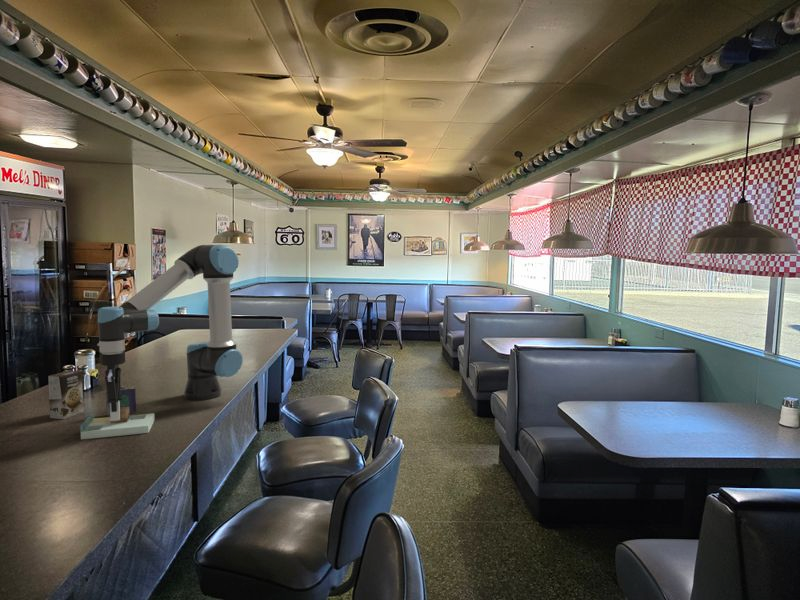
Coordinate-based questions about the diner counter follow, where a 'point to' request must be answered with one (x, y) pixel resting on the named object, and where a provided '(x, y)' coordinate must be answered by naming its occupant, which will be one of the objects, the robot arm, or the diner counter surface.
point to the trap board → (116, 426)
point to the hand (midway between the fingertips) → (115, 419)
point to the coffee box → (65, 394)
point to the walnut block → (123, 415)
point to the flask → (125, 399)
